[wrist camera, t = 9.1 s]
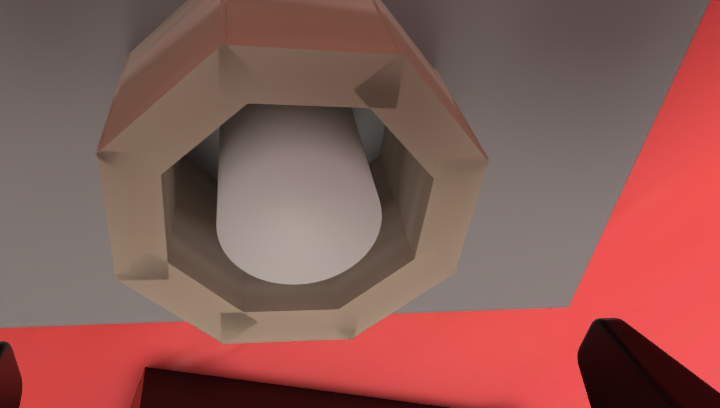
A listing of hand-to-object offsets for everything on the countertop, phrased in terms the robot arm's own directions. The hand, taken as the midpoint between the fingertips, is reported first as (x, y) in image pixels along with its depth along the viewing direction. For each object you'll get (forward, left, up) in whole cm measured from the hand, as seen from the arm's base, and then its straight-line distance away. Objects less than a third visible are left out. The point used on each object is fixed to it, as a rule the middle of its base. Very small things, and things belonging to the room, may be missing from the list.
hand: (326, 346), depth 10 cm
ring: (0, 0, -7) cm, 7 cm away
